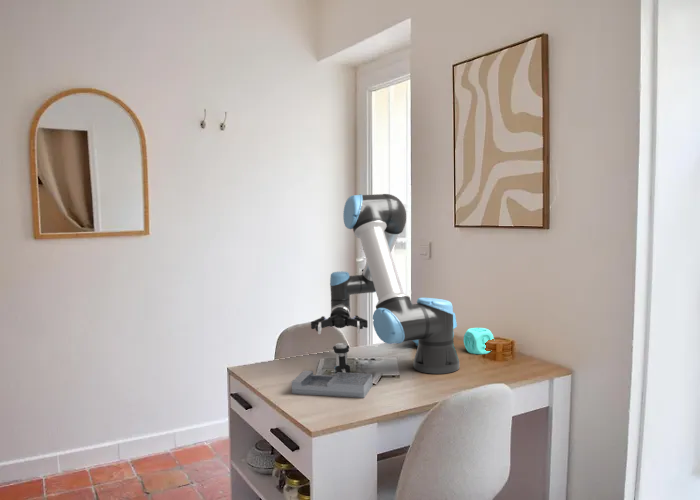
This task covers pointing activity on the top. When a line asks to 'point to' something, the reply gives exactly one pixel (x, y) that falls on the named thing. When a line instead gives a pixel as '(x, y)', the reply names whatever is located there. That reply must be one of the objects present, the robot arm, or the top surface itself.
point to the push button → (341, 358)
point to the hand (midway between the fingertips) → (338, 329)
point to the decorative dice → (477, 340)
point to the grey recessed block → (333, 384)
